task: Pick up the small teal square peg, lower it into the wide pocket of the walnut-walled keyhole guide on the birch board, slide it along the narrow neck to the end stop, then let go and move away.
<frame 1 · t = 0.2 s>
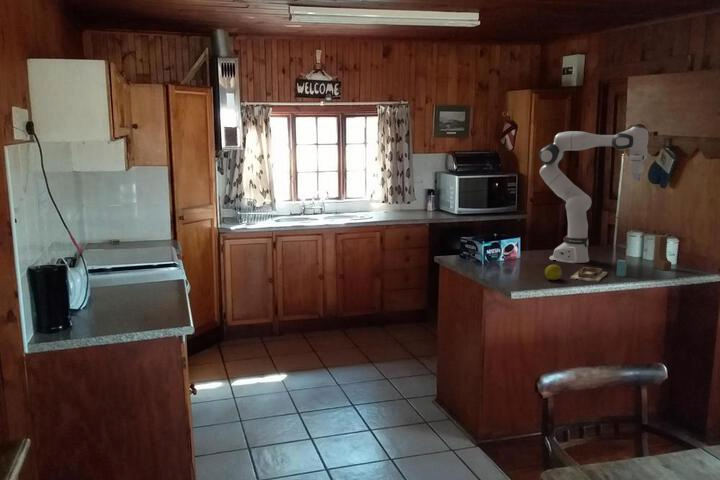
hand: (636, 181, 344), 47 cm above the worktop, tool pointing down, fingers open, 8 cm apart
teal peg: (621, 275, 332), on the worktop
lemon: (553, 280, 326), on the worktop
wooden block: (662, 269, 344), on the worktop
keyhole guide: (589, 275, 332), on the worktop
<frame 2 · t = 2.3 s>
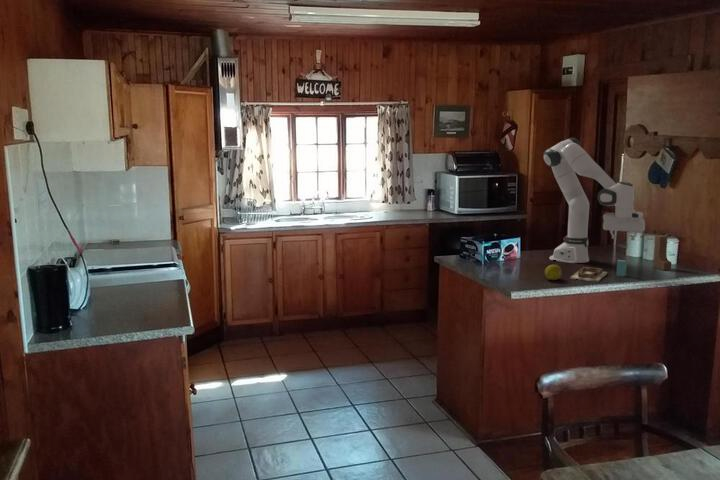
hand: (623, 239, 328), 19 cm above the worktop, tool pointing down, fingers open, 8 cm apart
nothing on the worktop moved.
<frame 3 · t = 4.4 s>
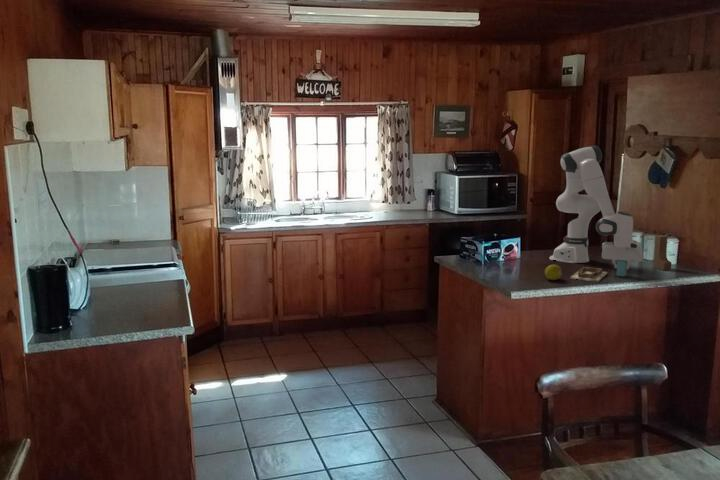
hand: (621, 268, 331), 4 cm above the worktop, tool pointing down, fingers closed on teal peg, 4 cm apart
teal peg: (621, 275, 332), on the worktop, touching gripper
everything else where it was.
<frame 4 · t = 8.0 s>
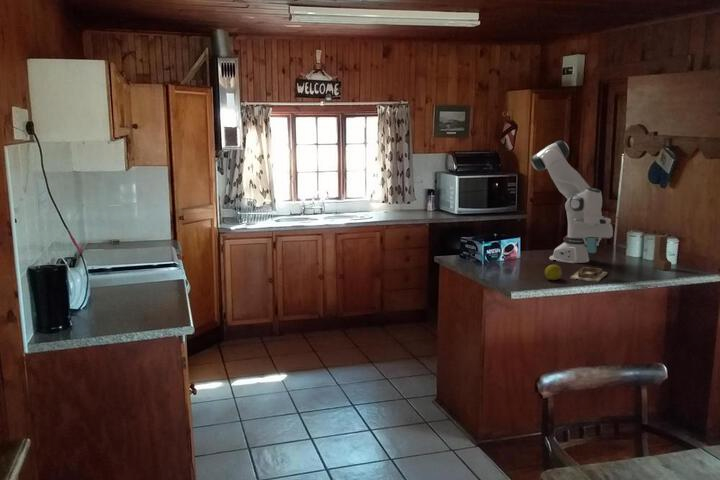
hand: (591, 245, 331), 16 cm above the worktop, tool pointing down, fingers closed on teal peg, 4 cm apart
teal peg: (591, 252, 331), point 12 cm above the worktop, touching gripper
everything else where it was.
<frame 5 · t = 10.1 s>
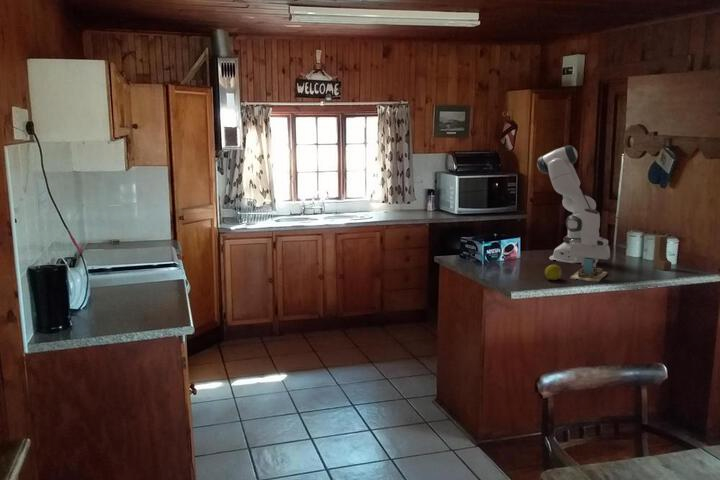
hand: (588, 266, 330), 6 cm above the worktop, tool pointing down, fingers closed on teal peg, 4 cm apart
teal peg: (588, 273, 330), point 2 cm above the worktop, touching gripper
everything else where it was.
when the fingers open (5 cm above the worktop, at t = 12.0 s): teal peg stays where it is, resting on keyhole guide.
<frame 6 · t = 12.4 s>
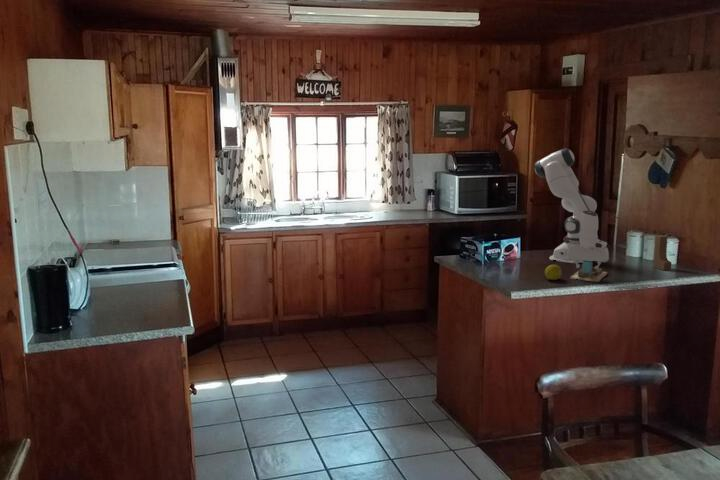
hand: (587, 268, 327), 5 cm above the worktop, tool pointing down, fingers open, 8 cm apart
teal peg: (586, 276, 327), point 1 cm above the worktop, touching keyhole guide
everything else where it was.
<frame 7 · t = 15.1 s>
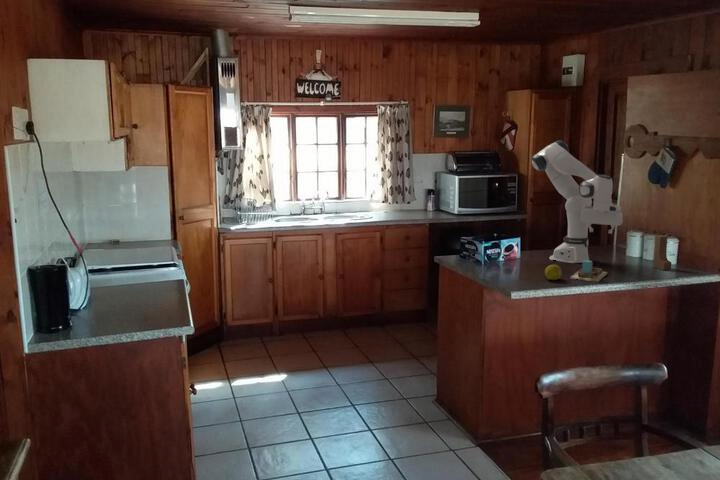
hand: (600, 232, 327), 23 cm above the worktop, tool pointing down, fingers open, 8 cm apart
nothing on the worktop moved.
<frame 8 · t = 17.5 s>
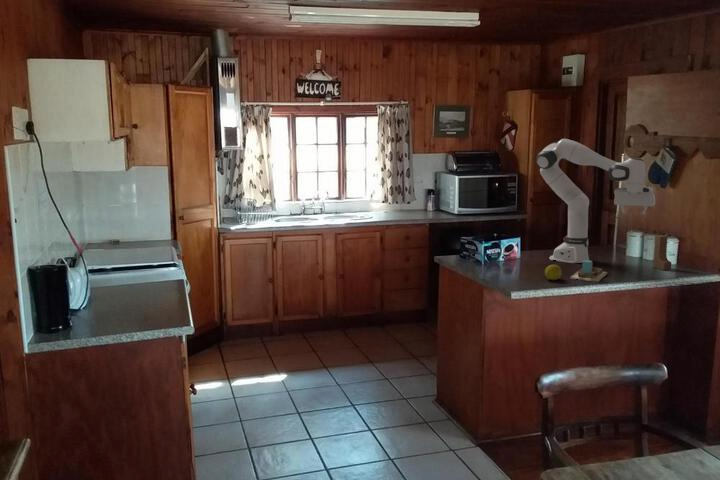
hand: (633, 214, 336), 31 cm above the worktop, tool pointing down, fingers open, 8 cm apart
nothing on the worktop moved.
at the end: teal peg 0.3 cm from the target spot on the keyhole guide, point 1.0 cm above the keyhole guide's base; teal peg tilted 0°; the gripper is holding nothing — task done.
